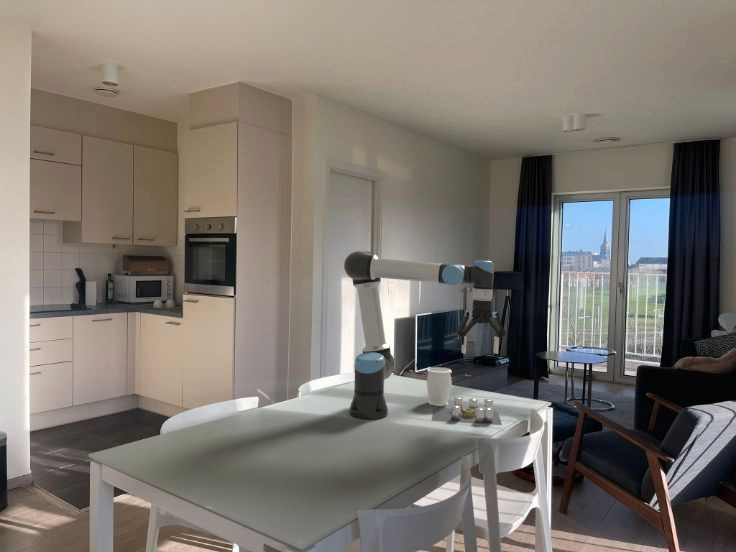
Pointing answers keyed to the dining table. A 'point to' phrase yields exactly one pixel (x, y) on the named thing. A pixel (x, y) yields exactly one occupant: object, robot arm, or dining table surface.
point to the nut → (468, 412)
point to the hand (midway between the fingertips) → (479, 353)
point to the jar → (439, 385)
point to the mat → (445, 415)
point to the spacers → (480, 413)
